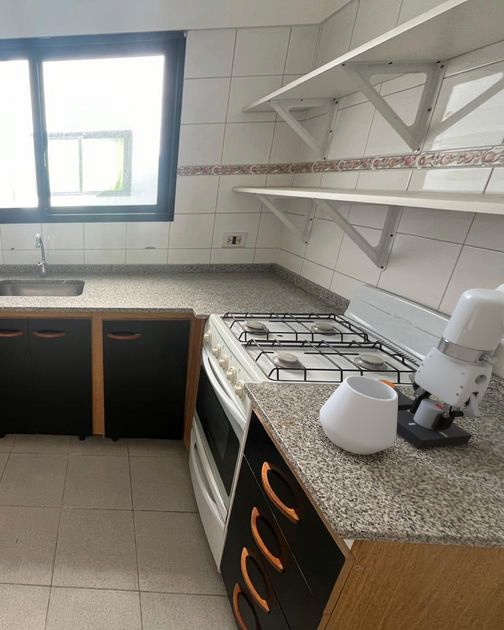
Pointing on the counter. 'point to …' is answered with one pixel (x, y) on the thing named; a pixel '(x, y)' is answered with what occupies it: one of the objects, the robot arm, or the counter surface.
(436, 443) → the timer panel
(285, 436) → the counter surface
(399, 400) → the block
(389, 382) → the button
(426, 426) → the timer knob
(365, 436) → the cup
